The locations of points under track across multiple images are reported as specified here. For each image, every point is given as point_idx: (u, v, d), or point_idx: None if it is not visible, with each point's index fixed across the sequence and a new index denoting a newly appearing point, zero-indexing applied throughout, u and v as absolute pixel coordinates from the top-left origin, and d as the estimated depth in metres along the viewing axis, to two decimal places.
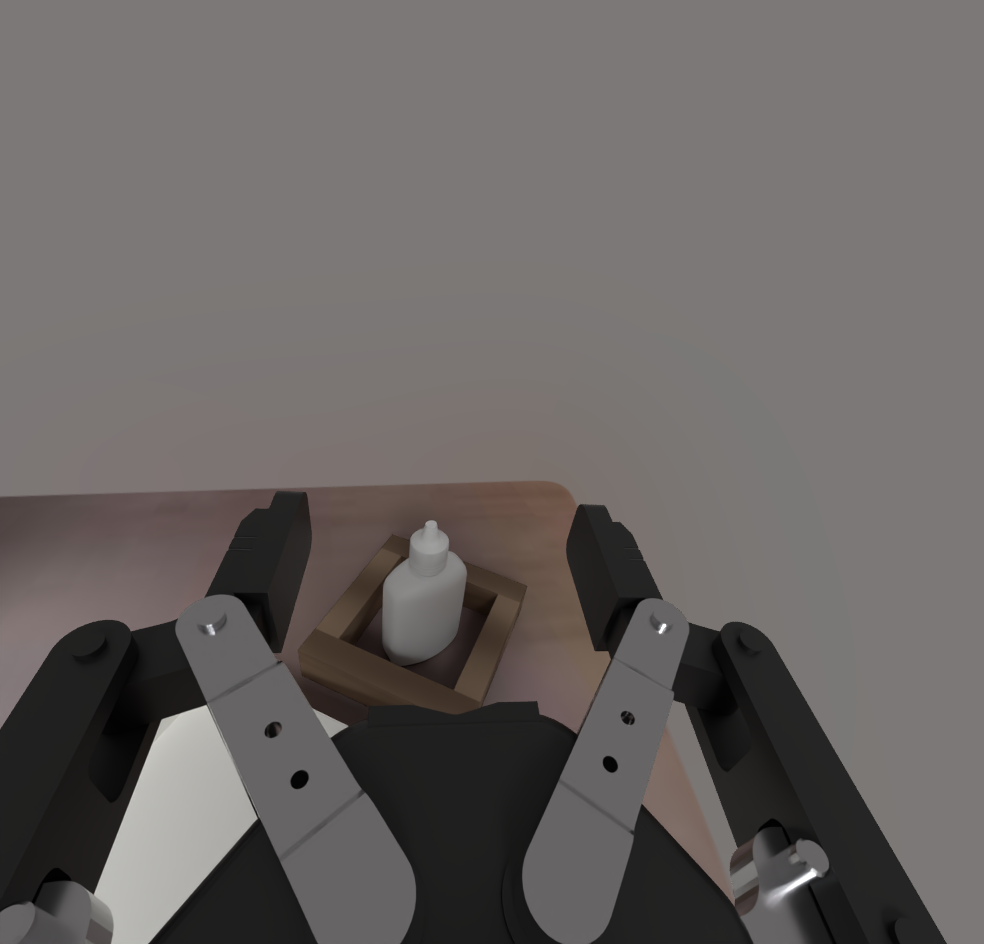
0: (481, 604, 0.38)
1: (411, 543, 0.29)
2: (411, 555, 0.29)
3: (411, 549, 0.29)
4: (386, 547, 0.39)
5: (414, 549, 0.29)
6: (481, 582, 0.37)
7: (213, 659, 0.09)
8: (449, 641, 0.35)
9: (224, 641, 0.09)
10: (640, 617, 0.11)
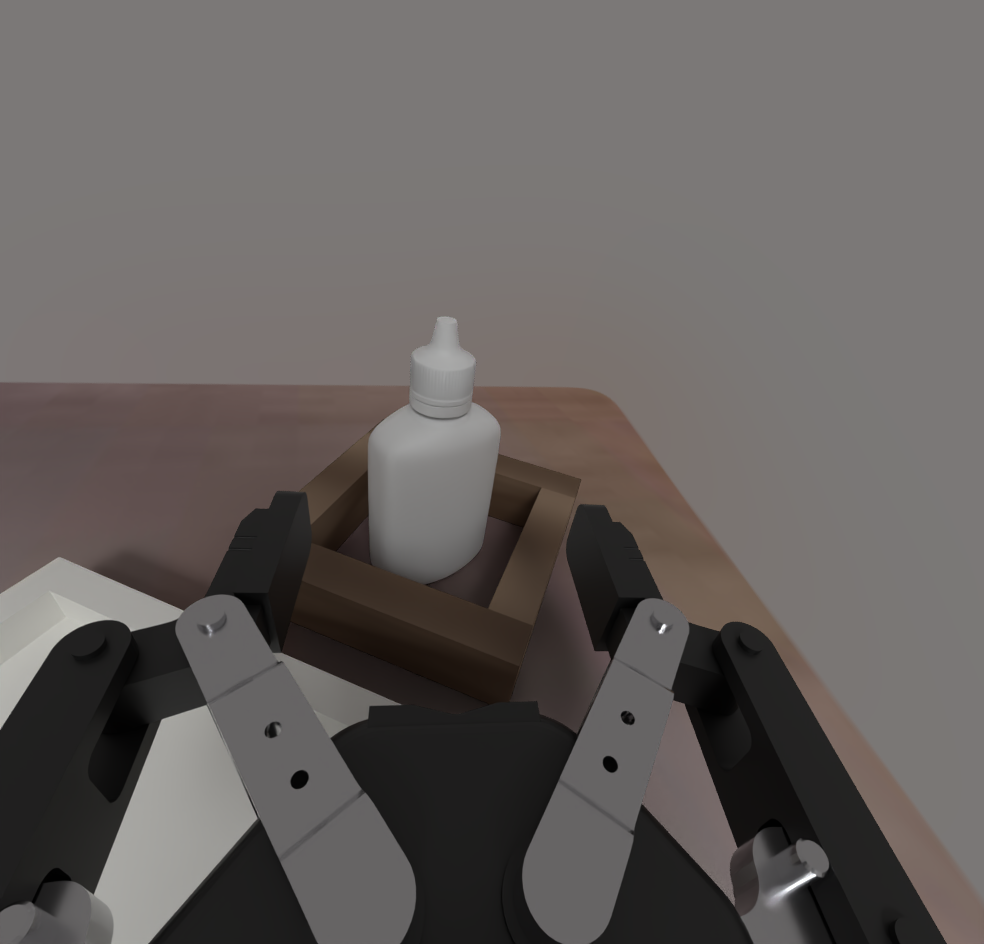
0: (514, 509, 0.26)
1: (413, 358, 0.17)
2: (413, 381, 0.17)
3: (413, 369, 0.17)
4: None
5: (418, 365, 0.17)
6: (515, 473, 0.25)
7: (213, 659, 0.09)
8: (471, 555, 0.23)
9: (224, 640, 0.09)
10: (640, 617, 0.11)
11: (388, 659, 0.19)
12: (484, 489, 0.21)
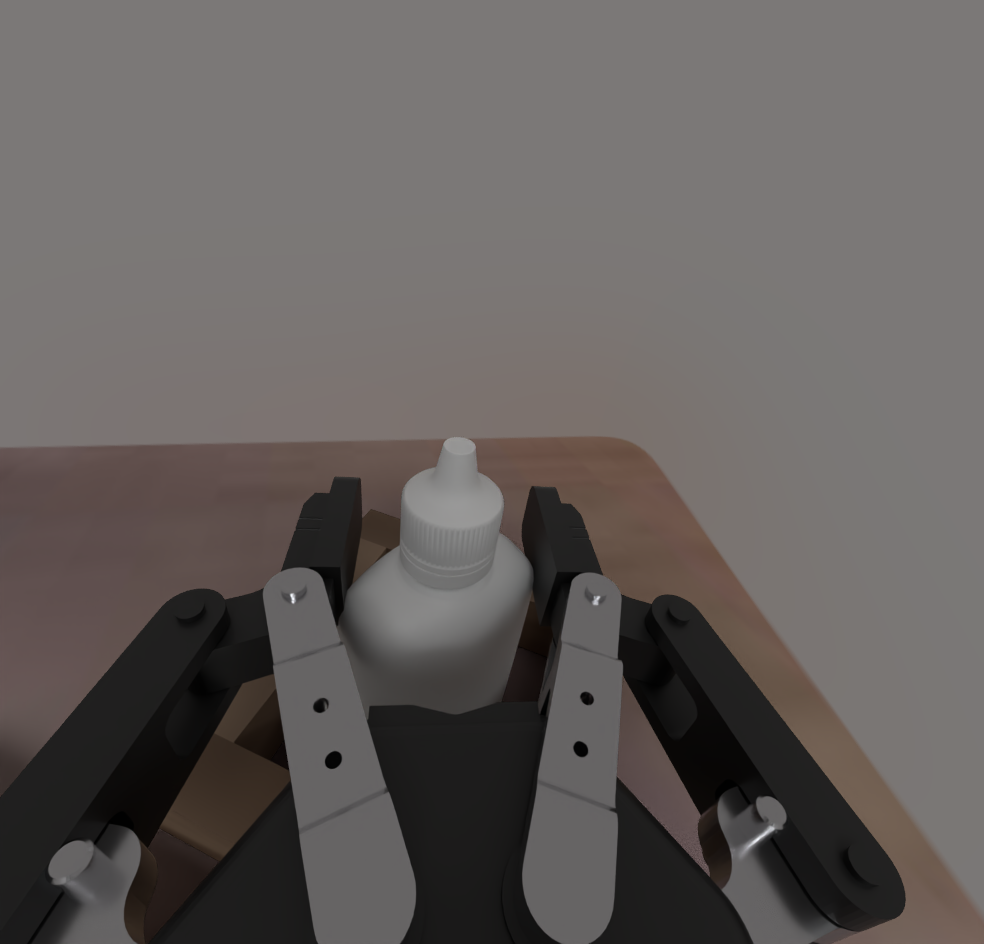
0: (543, 638, 0.19)
1: (405, 501, 0.11)
2: (405, 535, 0.11)
3: (405, 518, 0.11)
4: None
5: (413, 517, 0.10)
6: None
7: (301, 624, 0.09)
8: None
9: (299, 611, 0.10)
10: (574, 589, 0.11)
11: None
12: (509, 652, 0.15)
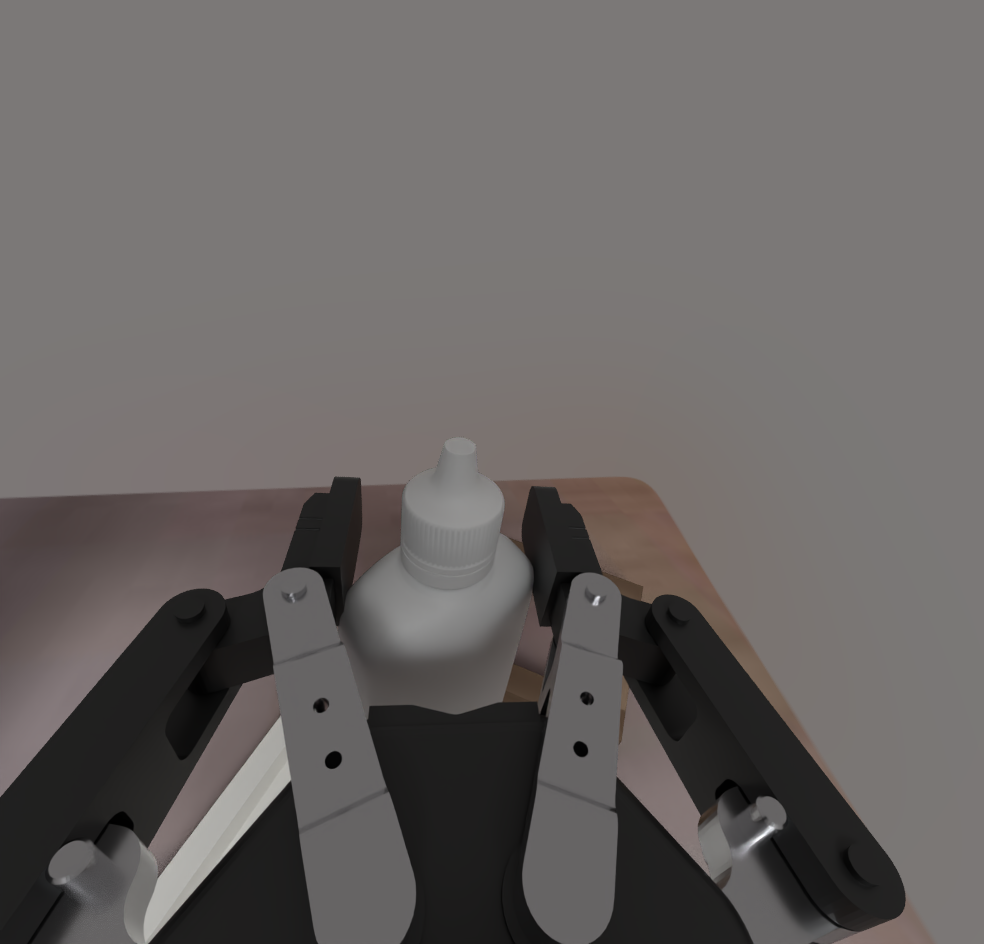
0: None
1: (406, 502, 0.11)
2: (406, 535, 0.11)
3: (406, 518, 0.11)
4: None
5: (414, 517, 0.10)
6: None
7: (301, 624, 0.09)
8: None
9: (299, 611, 0.10)
10: (574, 589, 0.11)
11: None
12: (509, 652, 0.15)
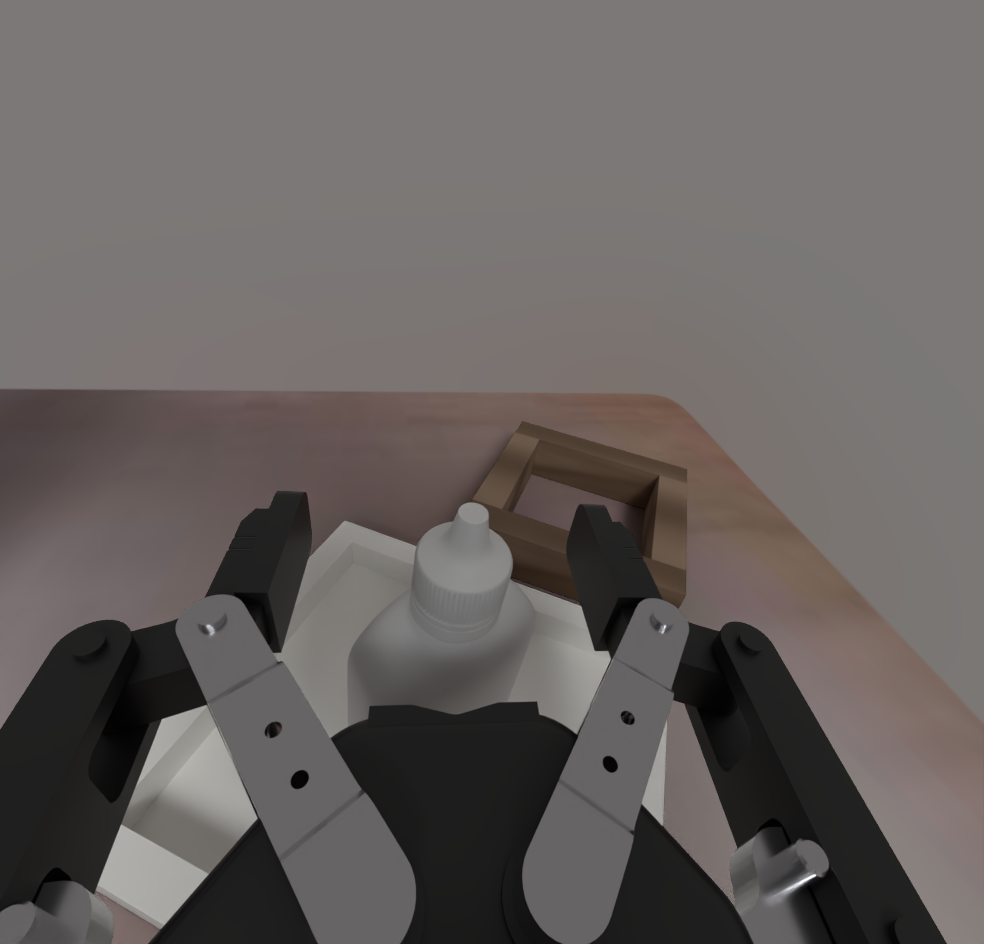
0: (633, 492, 0.33)
1: (419, 563, 0.11)
2: (418, 592, 0.11)
3: (419, 578, 0.11)
4: (520, 432, 0.34)
5: (428, 579, 0.11)
6: (636, 464, 0.32)
7: (213, 659, 0.09)
8: None
9: (224, 640, 0.09)
10: (640, 617, 0.11)
11: (573, 597, 0.26)
12: (509, 687, 0.15)
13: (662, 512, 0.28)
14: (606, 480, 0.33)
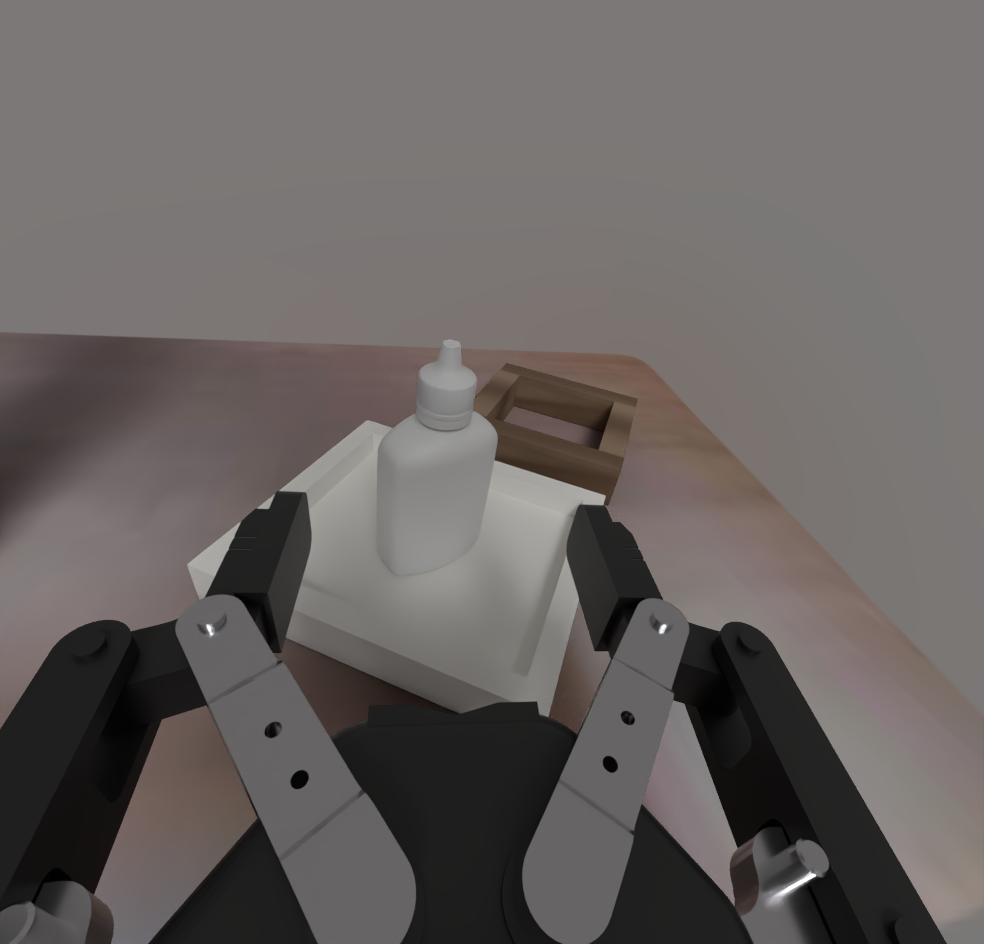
0: (594, 417, 0.41)
1: (420, 377, 0.19)
2: (420, 397, 0.19)
3: (420, 386, 0.19)
4: (504, 370, 0.42)
5: (425, 384, 0.19)
6: (596, 394, 0.40)
7: (213, 659, 0.09)
8: (469, 545, 0.26)
9: (224, 640, 0.09)
10: (640, 617, 0.11)
11: None
12: (481, 489, 0.23)
13: (612, 423, 0.36)
14: (573, 408, 0.41)
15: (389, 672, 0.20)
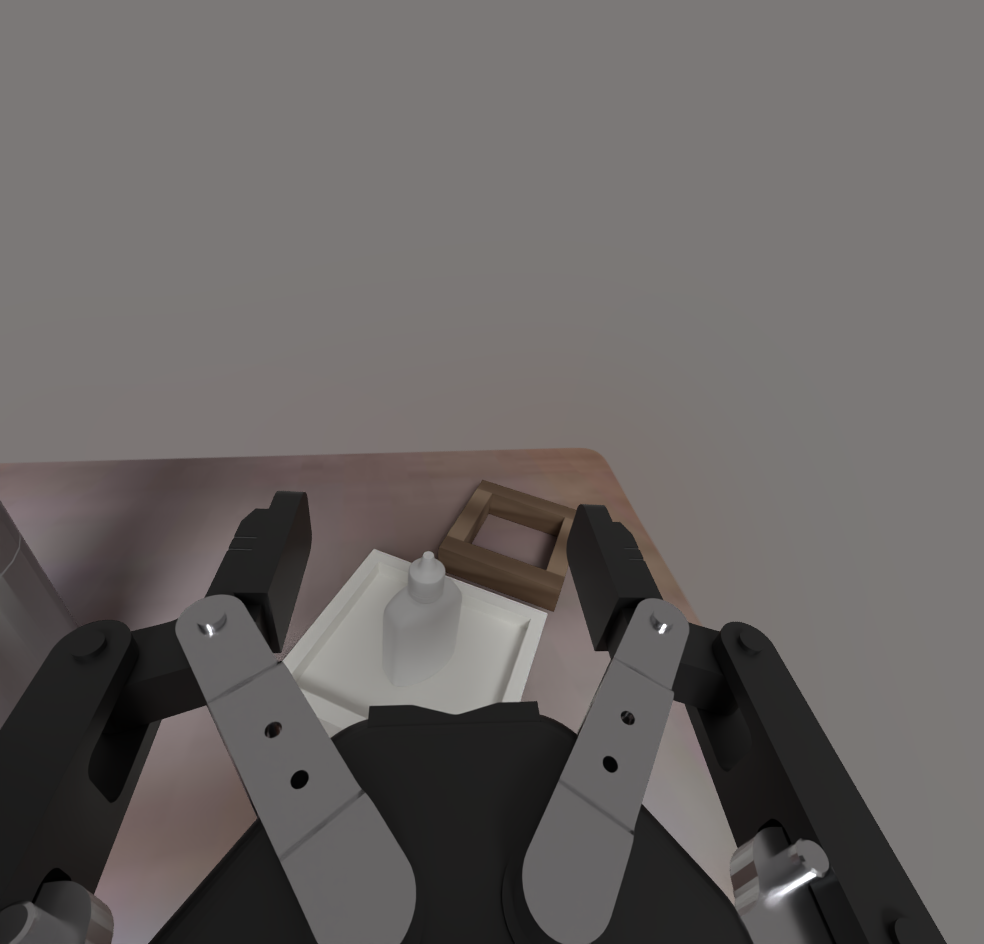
0: (551, 526, 0.52)
1: (410, 573, 0.31)
2: (410, 584, 0.31)
3: (410, 579, 0.31)
4: (480, 488, 0.53)
5: (413, 579, 0.31)
6: (552, 509, 0.52)
7: (213, 659, 0.09)
8: (446, 661, 0.37)
9: (224, 641, 0.09)
10: (640, 617, 0.11)
11: (503, 592, 0.45)
12: (452, 628, 0.35)
13: (560, 542, 0.48)
14: (534, 519, 0.53)
15: None
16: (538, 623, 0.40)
